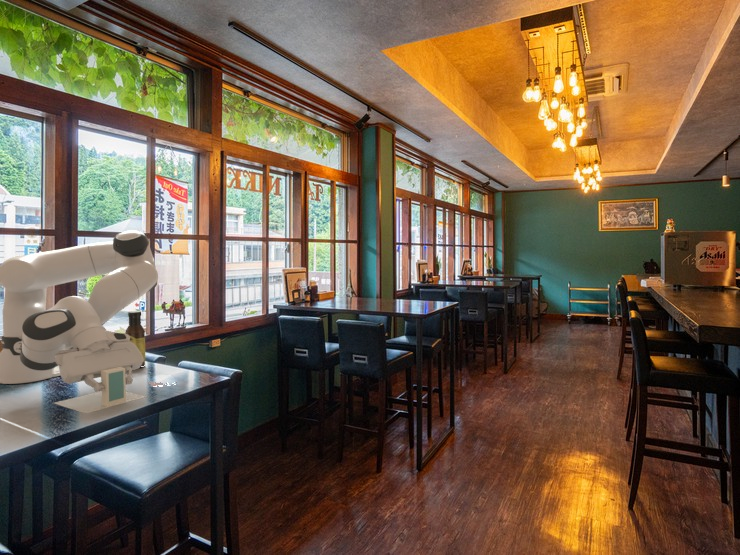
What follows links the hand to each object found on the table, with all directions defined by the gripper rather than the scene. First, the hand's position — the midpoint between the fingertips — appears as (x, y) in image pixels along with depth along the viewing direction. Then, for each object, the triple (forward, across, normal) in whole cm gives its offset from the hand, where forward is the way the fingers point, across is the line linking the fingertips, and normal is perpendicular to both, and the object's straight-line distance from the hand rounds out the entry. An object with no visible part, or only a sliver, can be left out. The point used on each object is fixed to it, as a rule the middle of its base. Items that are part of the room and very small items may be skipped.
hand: (115, 386), depth 121 cm
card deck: (+3, 0, +4) cm, 5 cm away
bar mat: (-1, 0, +8) cm, 8 cm away
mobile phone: (-4, +21, +12) cm, 24 cm away
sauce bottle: (-21, +28, +28) cm, 45 cm away
